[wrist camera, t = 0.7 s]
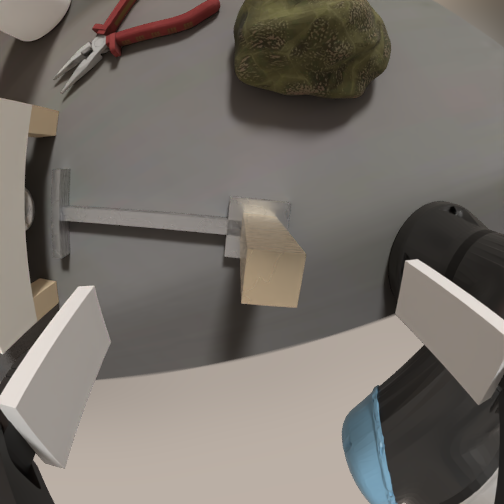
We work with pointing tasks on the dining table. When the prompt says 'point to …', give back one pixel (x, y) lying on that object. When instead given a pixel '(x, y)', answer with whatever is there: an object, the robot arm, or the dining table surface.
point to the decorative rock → (310, 46)
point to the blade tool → (234, 227)
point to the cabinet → (19, 222)
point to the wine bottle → (31, 17)
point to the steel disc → (28, 209)
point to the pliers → (130, 35)
